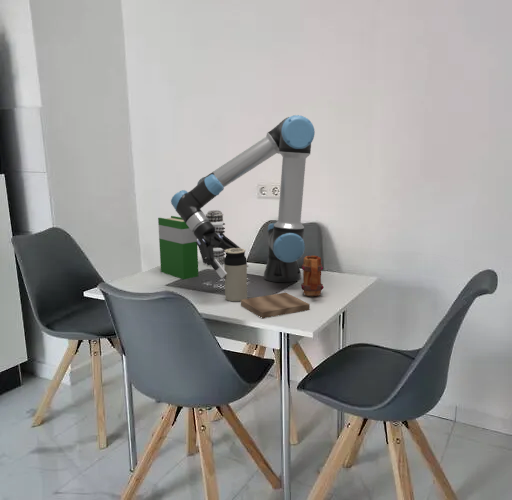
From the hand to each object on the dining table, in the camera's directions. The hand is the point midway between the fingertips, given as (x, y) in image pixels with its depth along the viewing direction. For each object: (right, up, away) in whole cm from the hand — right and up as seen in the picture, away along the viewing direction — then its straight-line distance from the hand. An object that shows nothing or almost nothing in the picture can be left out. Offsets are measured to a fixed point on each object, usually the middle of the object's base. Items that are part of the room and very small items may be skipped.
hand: (235, 271), depth 193 cm
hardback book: (-26, -3, +39) cm, 47 cm away
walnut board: (+14, -12, -8) cm, 20 cm away
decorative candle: (-11, +1, +54) cm, 55 cm away
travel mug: (0, -10, +3) cm, 10 cm away
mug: (+28, -9, +3) cm, 30 cm away
